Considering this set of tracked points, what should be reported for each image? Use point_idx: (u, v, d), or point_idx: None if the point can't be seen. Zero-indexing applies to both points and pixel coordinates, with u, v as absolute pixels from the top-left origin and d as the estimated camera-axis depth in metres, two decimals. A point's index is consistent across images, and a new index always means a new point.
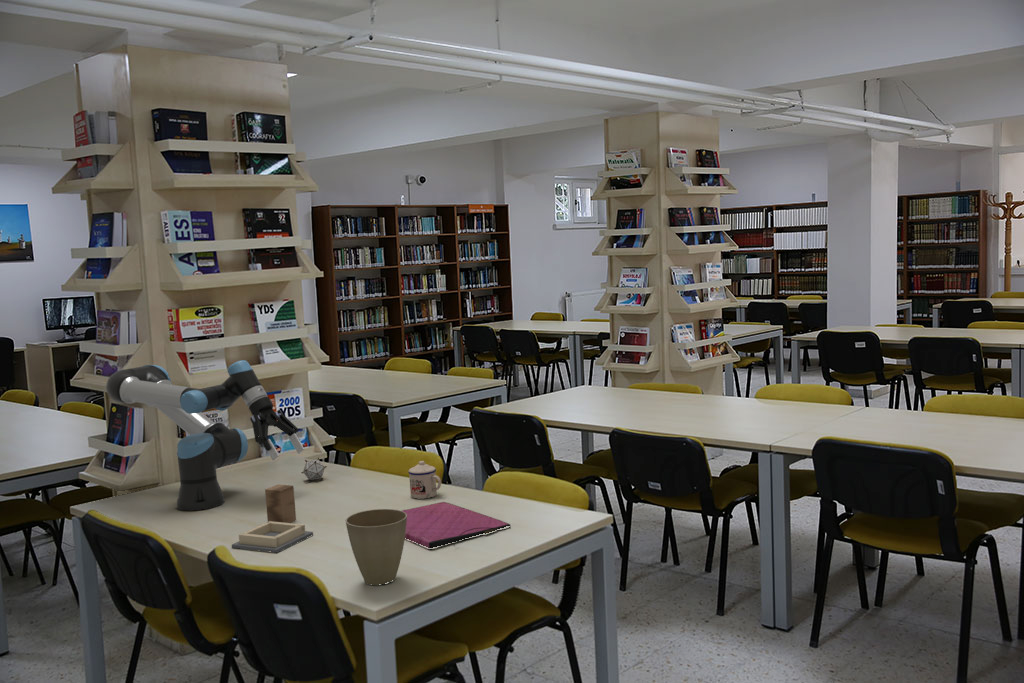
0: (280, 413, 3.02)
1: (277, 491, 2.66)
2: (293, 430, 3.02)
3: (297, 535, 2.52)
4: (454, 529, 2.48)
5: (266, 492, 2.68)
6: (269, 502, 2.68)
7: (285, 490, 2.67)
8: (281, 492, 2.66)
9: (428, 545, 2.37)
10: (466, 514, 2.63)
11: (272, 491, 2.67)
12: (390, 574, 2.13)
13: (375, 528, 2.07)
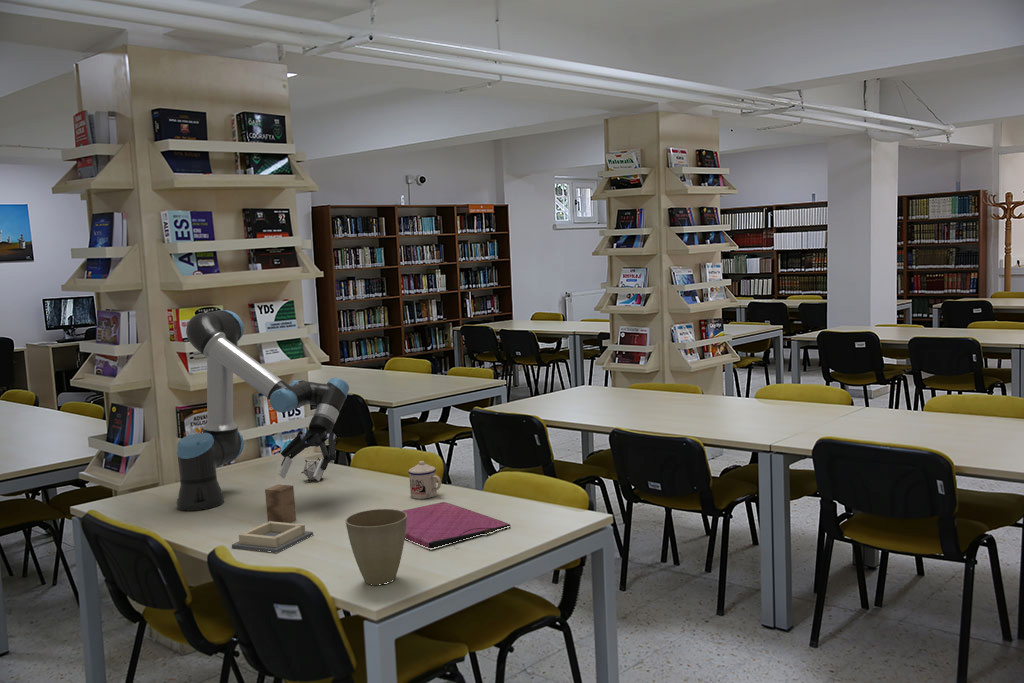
0: None
1: (277, 491, 2.66)
2: None
3: (297, 535, 2.52)
4: (454, 529, 2.48)
5: (266, 492, 2.68)
6: (269, 502, 2.68)
7: (285, 490, 2.67)
8: (281, 492, 2.66)
9: (428, 545, 2.37)
10: (466, 514, 2.63)
11: (272, 491, 2.67)
12: (390, 574, 2.13)
13: (375, 528, 2.07)
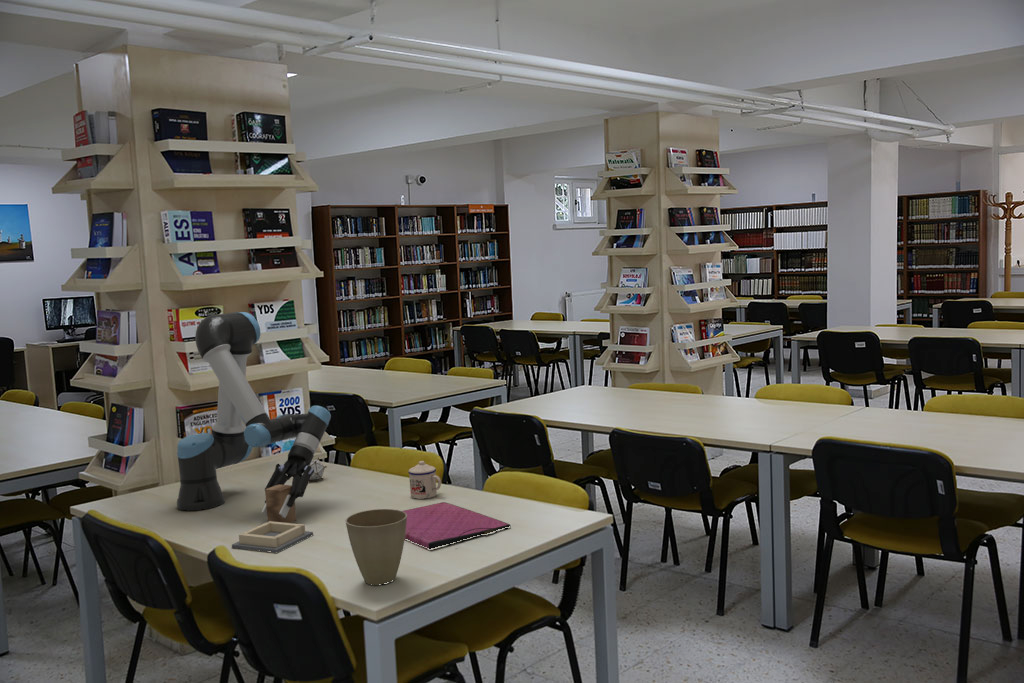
0: None
1: (277, 491, 2.66)
2: None
3: (297, 535, 2.52)
4: (454, 529, 2.48)
5: (266, 492, 2.68)
6: (269, 502, 2.68)
7: (285, 490, 2.67)
8: (281, 492, 2.66)
9: (428, 546, 2.36)
10: (466, 514, 2.63)
11: (272, 491, 2.67)
12: (390, 574, 2.13)
13: (375, 528, 2.07)
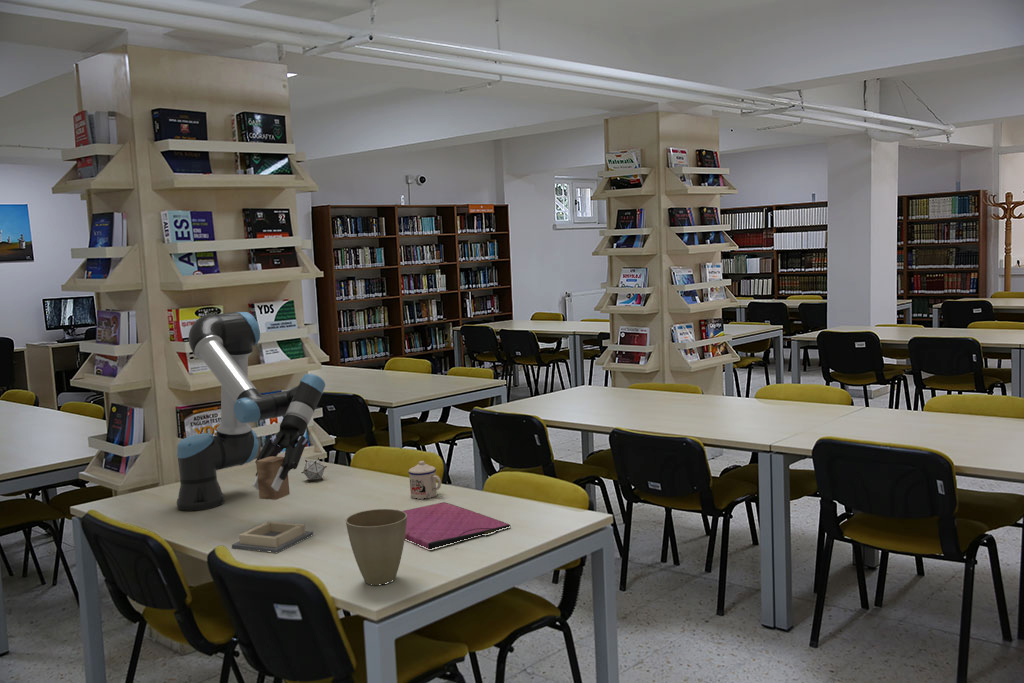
0: None
1: (269, 462, 2.49)
2: None
3: (297, 535, 2.52)
4: (454, 529, 2.48)
5: (257, 464, 2.50)
6: (260, 474, 2.50)
7: (278, 461, 2.50)
8: (273, 463, 2.49)
9: (428, 546, 2.36)
10: (466, 514, 2.63)
11: (264, 462, 2.49)
12: (390, 574, 2.13)
13: (375, 528, 2.07)
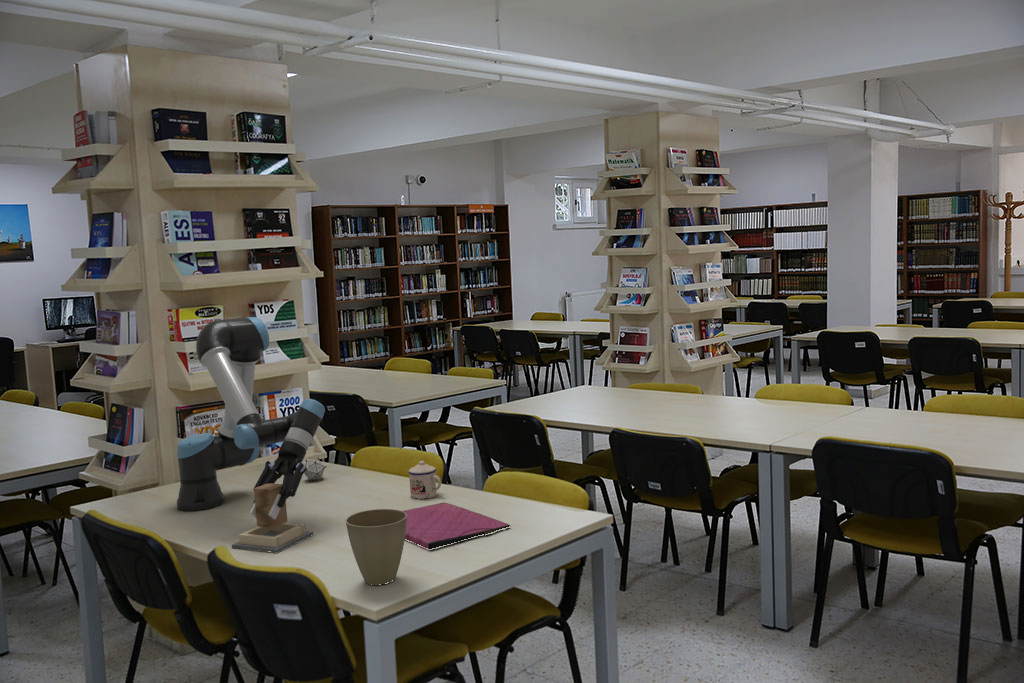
0: None
1: (267, 490, 2.47)
2: None
3: (297, 535, 2.52)
4: (454, 529, 2.48)
5: (255, 491, 2.49)
6: (258, 502, 2.49)
7: (275, 489, 2.48)
8: (271, 491, 2.47)
9: (427, 546, 2.36)
10: (466, 515, 2.63)
11: (261, 490, 2.48)
12: (390, 574, 2.13)
13: (375, 528, 2.07)
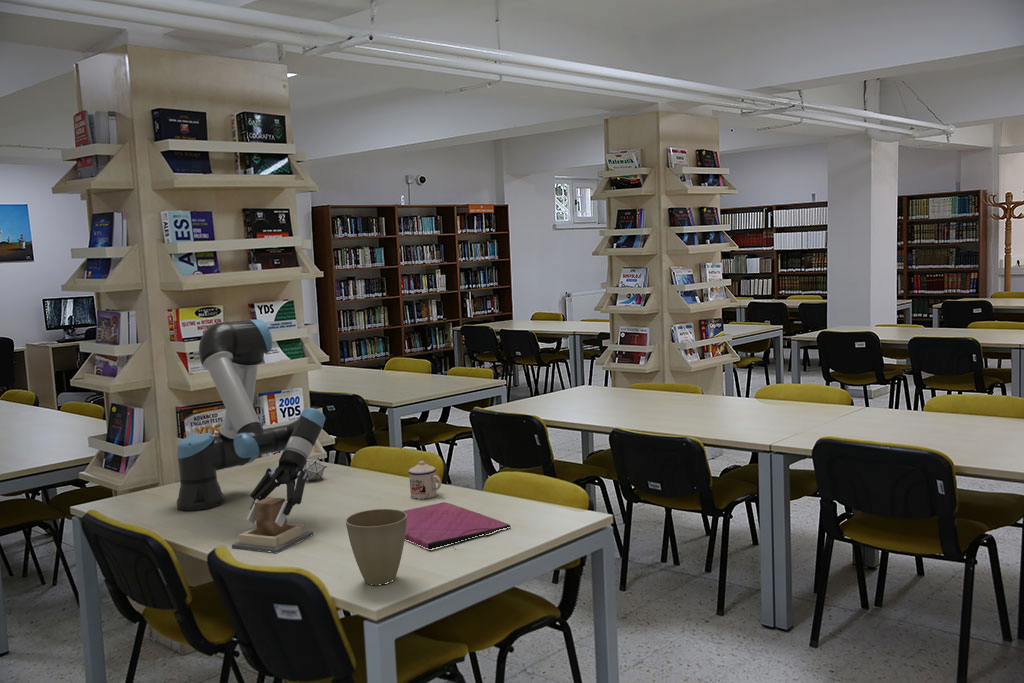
0: None
1: (267, 505, 2.47)
2: (261, 499, 2.56)
3: (297, 535, 2.52)
4: (454, 529, 2.48)
5: (256, 505, 2.49)
6: (258, 516, 2.49)
7: (276, 503, 2.49)
8: (272, 506, 2.47)
9: (427, 546, 2.36)
10: (466, 515, 2.63)
11: (262, 504, 2.48)
12: (390, 574, 2.13)
13: (375, 528, 2.07)
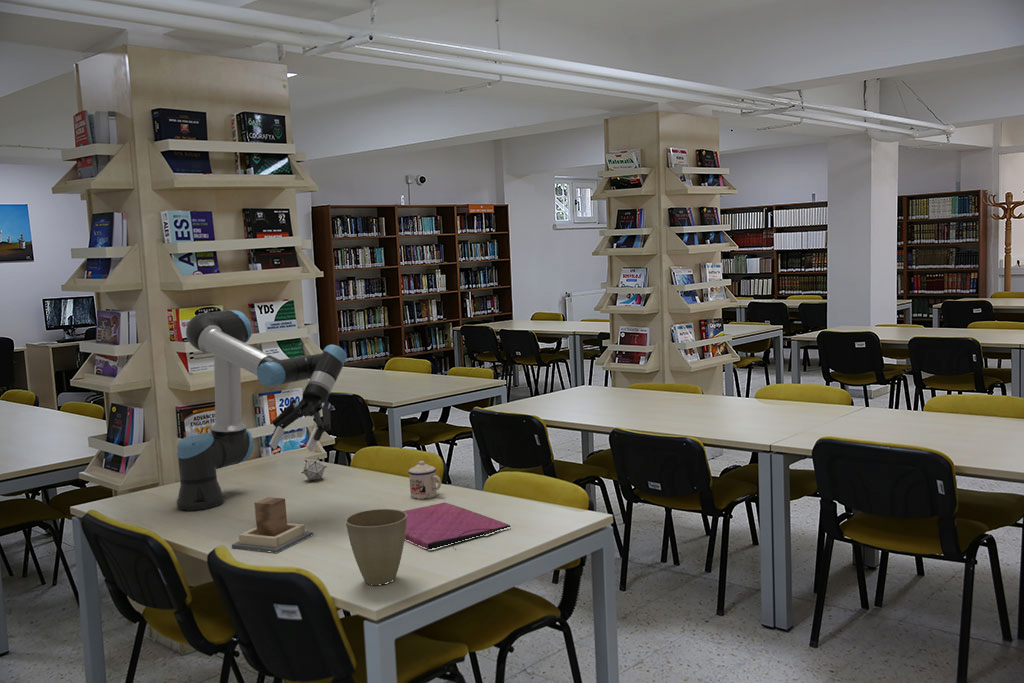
0: None
1: (267, 505, 2.47)
2: None
3: (297, 535, 2.52)
4: (454, 530, 2.47)
5: (256, 505, 2.49)
6: (258, 516, 2.49)
7: (276, 503, 2.49)
8: (272, 506, 2.47)
9: (427, 546, 2.36)
10: (466, 515, 2.63)
11: (262, 504, 2.48)
12: (390, 574, 2.13)
13: (375, 528, 2.07)
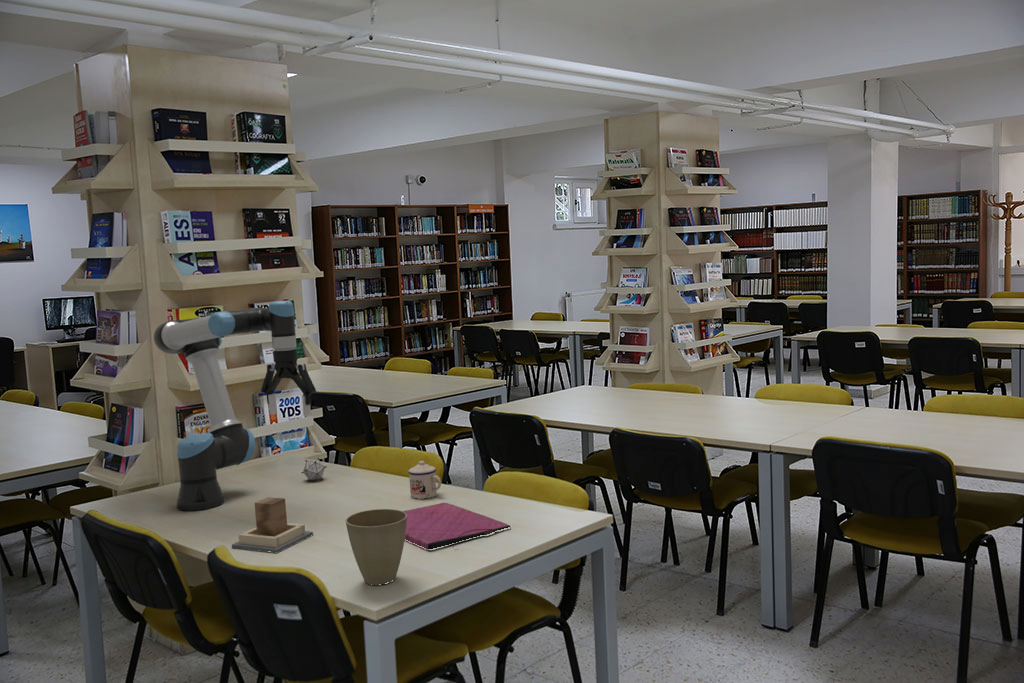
0: None
1: (267, 505, 2.47)
2: None
3: (297, 535, 2.52)
4: (454, 530, 2.47)
5: (256, 505, 2.49)
6: (258, 516, 2.49)
7: (276, 503, 2.49)
8: (272, 506, 2.47)
9: (427, 546, 2.36)
10: (466, 515, 2.62)
11: (262, 504, 2.48)
12: (390, 574, 2.13)
13: (375, 528, 2.07)
